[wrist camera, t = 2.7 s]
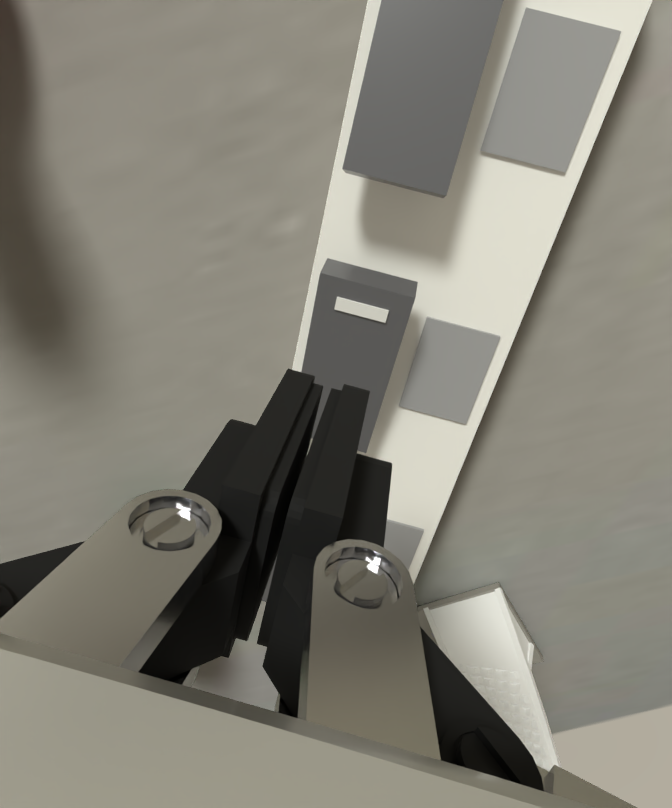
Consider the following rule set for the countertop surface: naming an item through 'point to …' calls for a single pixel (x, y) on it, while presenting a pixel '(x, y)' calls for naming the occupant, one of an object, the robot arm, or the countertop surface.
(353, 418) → the robot arm
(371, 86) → the block
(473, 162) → the power strip
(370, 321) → the middle rocker
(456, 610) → the skyscraper
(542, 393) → the countertop surface
